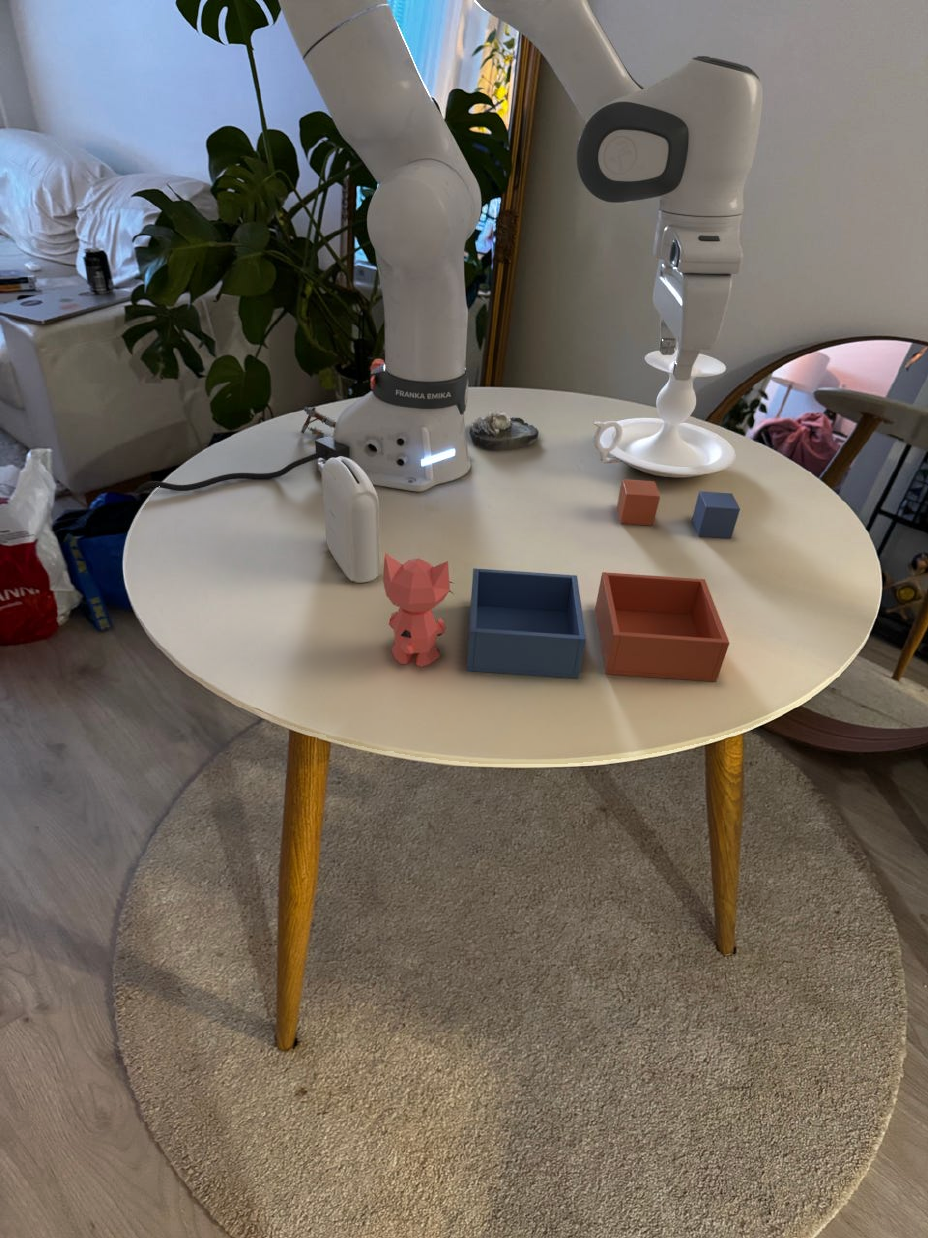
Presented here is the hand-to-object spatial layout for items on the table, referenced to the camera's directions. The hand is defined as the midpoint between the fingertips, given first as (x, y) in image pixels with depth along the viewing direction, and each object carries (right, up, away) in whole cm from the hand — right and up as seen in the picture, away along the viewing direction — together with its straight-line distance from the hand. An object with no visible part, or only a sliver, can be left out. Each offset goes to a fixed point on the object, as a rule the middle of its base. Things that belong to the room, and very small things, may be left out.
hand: (673, 365), depth 92 cm
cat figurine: (-30, -35, -15) cm, 49 cm away
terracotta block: (-2, -17, +11) cm, 20 cm away
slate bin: (-19, -33, -12) cm, 40 cm away
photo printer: (-39, -24, -1) cm, 46 cm away
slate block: (+8, -19, +10) cm, 22 cm away
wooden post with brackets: (-47, -2, +27) cm, 54 cm away
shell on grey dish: (-19, -1, +31) cm, 36 cm away
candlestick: (+4, -7, +25) cm, 26 cm away
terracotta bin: (-5, -33, -11) cm, 36 cm away
